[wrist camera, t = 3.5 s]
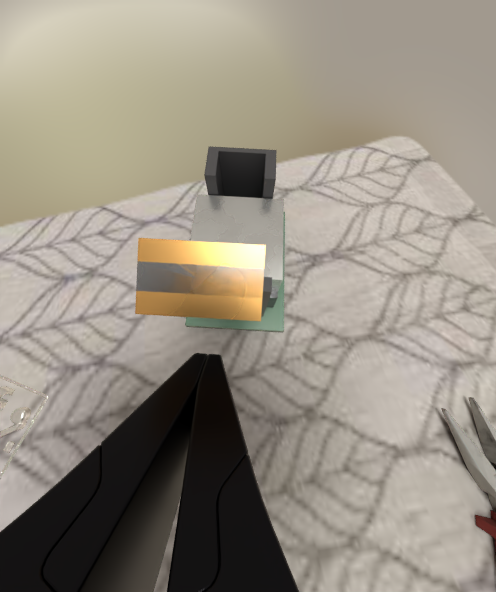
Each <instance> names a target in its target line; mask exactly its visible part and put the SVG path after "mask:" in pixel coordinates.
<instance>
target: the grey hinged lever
mask: <svg viewBox="0 0 496 592" xmlns="http://www.w3.org/2000/svg"><path fill="white" fill-rule="evenodd" d="M265 247H266V245H253V244H235V243H218V242H201V241H183V240H166V239H148V238H139V241H138V264H137V288H136V311H135V314H146V315H163V316H180V317H197V318H214V319H230V320H247V321H261V312H262V296H263V280H264V263H265Z"/></svg>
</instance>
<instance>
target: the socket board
mask: <svg viewBox="0 0 496 592" xmlns="http://www.w3.org/2000/svg"><path fill="white" fill-rule="evenodd" d="M205 180H206V185H207V190H208V195H214V196H232V197H249V198H267V199H273V192H274V186H275V180H276V150H262V149H244V148H225V147H209V149H208V155H207V162H206V169H205ZM284 244H285V212H284V220H283V281H282V283H281V285H280V288H279V290H278V298H277V300H276V303H275V305H274V307H273V308H270V307H267V304H268V301H269V298H270V295H271V292H272V277H264V280H263V296H262V312H261V321H247V320H230V319H214V318H197V317H186V323H185V325H186V326H187V327H204V328H221V329H238V330H254V331H271V332H283V331H284Z"/></svg>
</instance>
